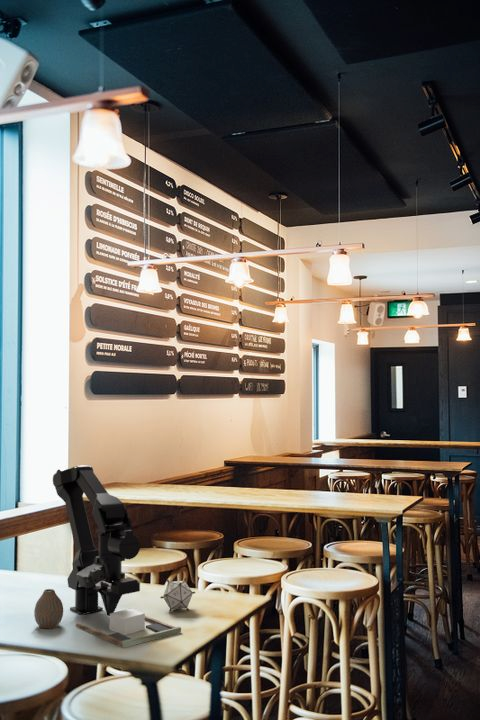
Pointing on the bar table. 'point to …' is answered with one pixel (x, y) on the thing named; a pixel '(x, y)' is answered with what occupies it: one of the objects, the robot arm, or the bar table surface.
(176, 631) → the wood-trimmed serving tray
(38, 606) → the vase
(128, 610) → the block
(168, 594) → the game die
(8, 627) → the bar table surface
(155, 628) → the dark grey rectangular slab
